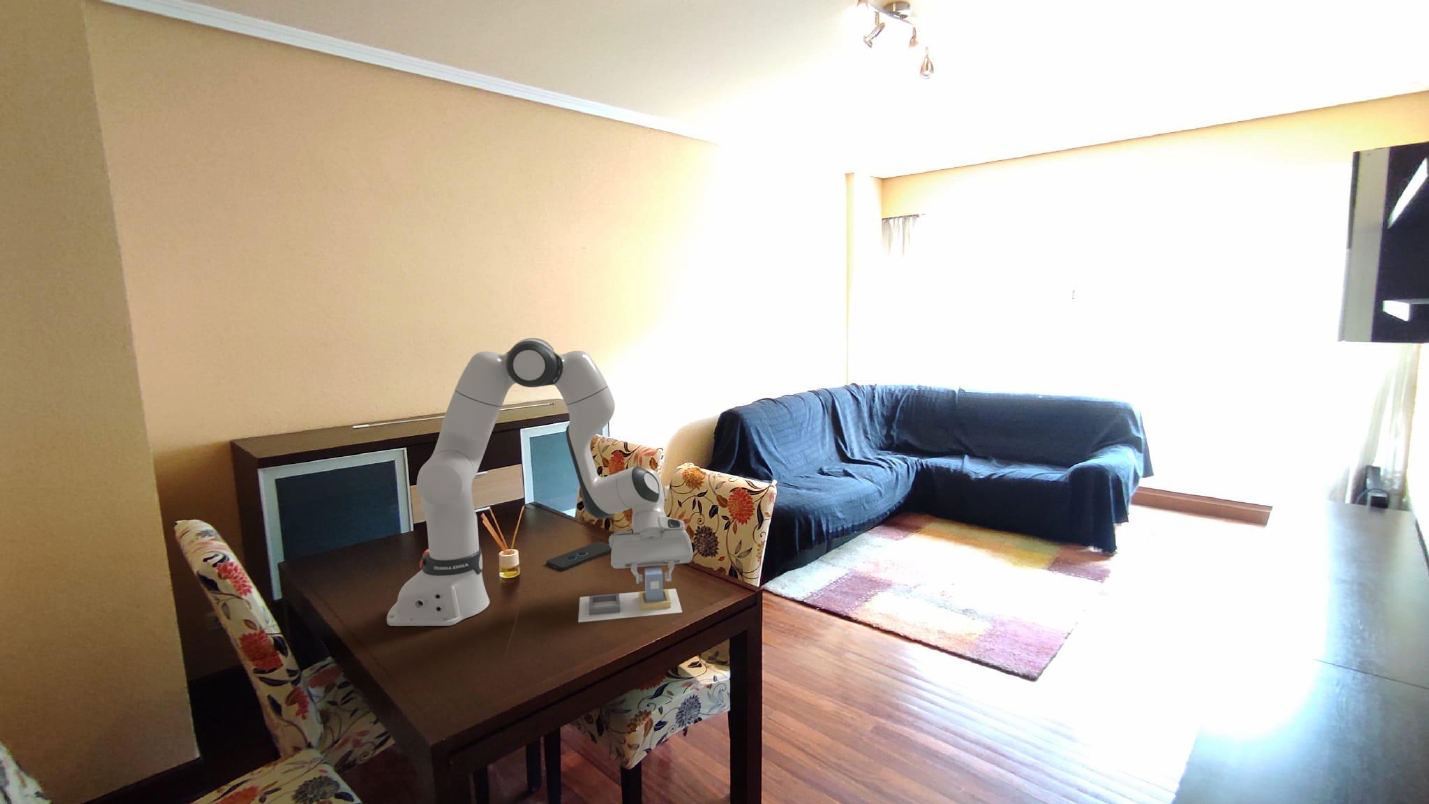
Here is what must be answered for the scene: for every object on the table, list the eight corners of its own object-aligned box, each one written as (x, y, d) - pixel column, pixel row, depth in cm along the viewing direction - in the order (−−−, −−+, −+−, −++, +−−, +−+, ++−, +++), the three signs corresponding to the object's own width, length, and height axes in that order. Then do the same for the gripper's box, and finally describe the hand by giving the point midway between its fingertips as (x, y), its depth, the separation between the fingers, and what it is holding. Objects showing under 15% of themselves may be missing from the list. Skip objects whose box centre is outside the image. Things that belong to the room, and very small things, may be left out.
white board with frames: (578, 624, 142) (578, 616, 141) (580, 599, 154) (579, 591, 154) (682, 614, 146) (682, 606, 146) (675, 590, 159) (675, 583, 158)
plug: (646, 607, 148) (646, 576, 147) (645, 599, 153) (644, 568, 152) (663, 606, 149) (662, 574, 148) (661, 597, 154) (660, 567, 152)
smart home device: (544, 560, 176) (599, 540, 192) (545, 566, 177) (599, 545, 192) (563, 567, 171) (617, 546, 187) (563, 573, 172) (617, 552, 187)
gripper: (608, 526, 154) (610, 580, 145) (690, 521, 157) (696, 573, 149) (608, 537, 159) (610, 590, 150) (687, 532, 162) (693, 583, 154)
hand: (654, 581), depth 150 cm, fingers open, 5 cm apart
